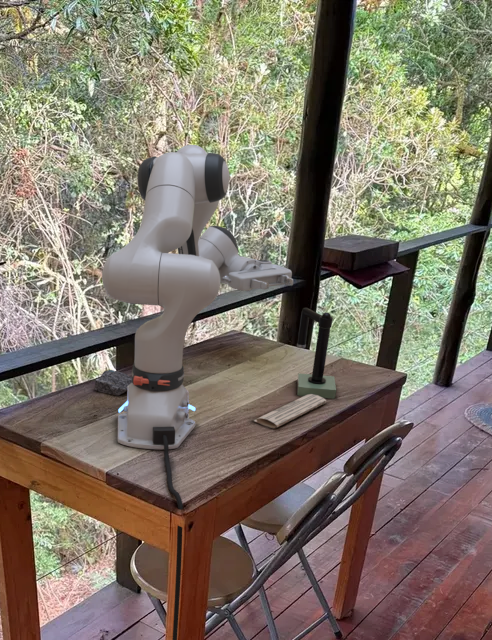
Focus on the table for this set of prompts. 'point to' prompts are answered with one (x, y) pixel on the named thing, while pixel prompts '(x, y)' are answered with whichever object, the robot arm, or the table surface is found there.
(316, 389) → the block
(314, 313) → the spout
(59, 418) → the table surface
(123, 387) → the rock
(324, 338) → the tap pillar
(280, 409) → the beige flat ridged bar
